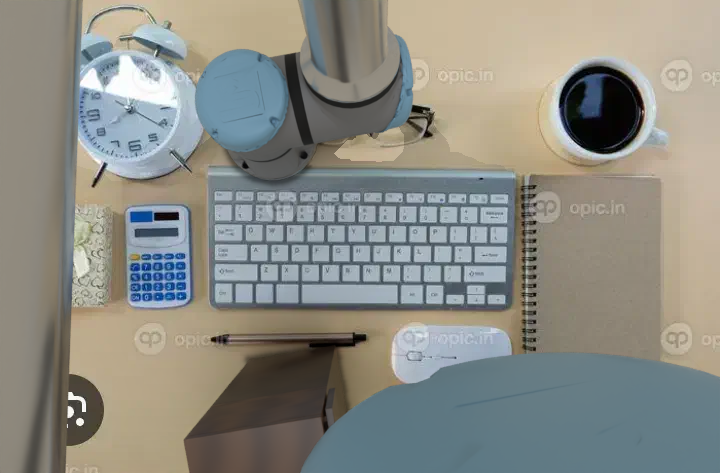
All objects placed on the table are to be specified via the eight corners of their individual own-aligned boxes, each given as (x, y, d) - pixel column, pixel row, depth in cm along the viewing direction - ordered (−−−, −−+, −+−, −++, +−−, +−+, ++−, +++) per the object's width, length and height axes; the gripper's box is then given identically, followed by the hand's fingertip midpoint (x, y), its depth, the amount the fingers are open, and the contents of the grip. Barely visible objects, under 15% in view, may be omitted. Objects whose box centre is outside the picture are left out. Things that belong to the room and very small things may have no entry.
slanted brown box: (335, 344, 79) (321, 416, 49) (348, 423, 79) (342, 541, 49) (249, 359, 79) (183, 439, 49) (263, 437, 79) (205, 564, 49)
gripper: (380, 572, 16) (367, 368, 40) (441, 927, 17) (393, 517, 40) (591, 536, 16) (454, 353, 40) (649, 892, 17) (479, 502, 40)
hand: (423, 436), depth 40 cm, fingers closed
